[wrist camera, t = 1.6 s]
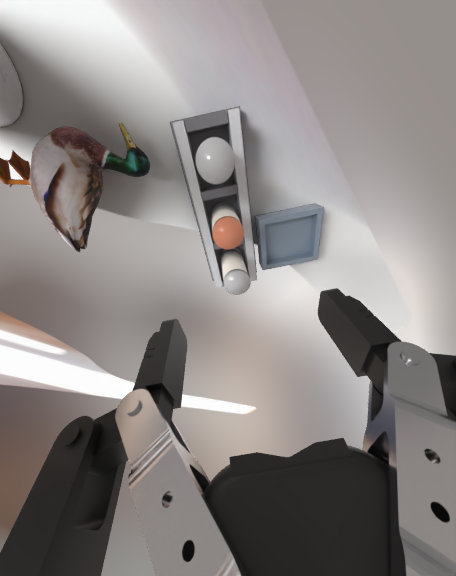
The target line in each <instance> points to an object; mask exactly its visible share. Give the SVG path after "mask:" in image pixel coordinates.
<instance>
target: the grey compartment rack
mask: <svg viewBox="0 0 456 576" xmlns="http://www.w3.org/2000/svg"><path fill="white" fill-rule="evenodd" d="M170 124H171V128H172V132H173V135H174V139H175V143H176V146H177V150H178V154H179V158H180V161H181V165H182V169H183V172H184V176H185V180H186V183H187V187H188V191H189V195H190V198H191V202H192V206H193V209H194V213H195V217H196V220H197V224H198V228H199V232H200V235H201V239H202V243H203V246H204V250H205V254H206V257H207V261H208V265H209V268H210V272H211V276H212V279H213V281H214V282H215V286H216V288H219V287H223V286H224V280H223V272H222V264H221V256H220V255H221V251H222V250H223V248H220V247H219V246H218V245H217V244H216V243H215V242H214V239H213V232H212V217H211V212H212V209H213V207H214V206H215V205H216V204H217V203H219V202H228V203H229V204H231V205H232V206H233V208H234V210H235V212H236V214H237V216H238V218H239V220H240V222H241V225H242V227H243V229H244V238H243V240H242V242H241V243H240V245H238V246H237V248H238V249H239V250H240V252H241V255H242V258H243V261H244V264H245V266H246V269H247V272H248V275H249V278H250V281H254V280H257V276H256V272H257V271H256V261H255V251H254V241H253V231H252V221H251V212H250V202H249V192H248V182H247V172H246V162H245V153H244V143H243V133H242V123H241V113H240V106H239V107H234V108H230V109H226V110H221V111H217V112H212V113H208V114H203V115H199V116H195V117H190V118H186V119H181V120H177V121H172V122H170ZM211 137H218V138H221V139H223V140H225V141H226V142H227V143H228V144H229V145H230V147H231V148H232V151H233V153H234V158H235V165H234V170H233V172H232V174H231V176H230V177H229V178H228V179H227V180H226V181H225V182H223V183H220V184H212V183H209V182H207V181H205V180H204V179H203V178H202V177H201V175H200V174H199V172H198V170H197V166H196V153H197V150H198V148H199V146H200V145H201V143H202V142H203V141H205V140H206V139H208V138H211ZM222 283H223V284H222Z"/></svg>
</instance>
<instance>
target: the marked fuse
mask: <svg viewBox="0 0 456 576" xmlns="http://www.w3.org/2000/svg"><path fill="white" fill-rule="evenodd" d="M211 217H212V232H213V239H214V242H215V243H216V244H217V245H218V246H219V247H220V248H223V249H233V248H235V247H237V246H238V245H240V243H241V242H242V240H243V238H244V229H243V227H242V225H241V222H240V220H239V218H238V216H237V214H236V212H235V210H234V208H233V206H232V205H231V204H229V203H228V202H219V203H217V204H216V205H215V206H214V207H213V209H212V212H211Z"/></svg>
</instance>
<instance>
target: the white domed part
mask: <svg viewBox="0 0 456 576" xmlns="http://www.w3.org/2000/svg"><path fill="white" fill-rule="evenodd" d="M234 165H235V158H234V153H233V151H232V148H231V147H230V145H229V144H228V143H227V142H226V141H225V140H223V139H221V138H218V137H211V138H208V139H206V140H205V141H203V142H202V143H201V145H200V146H199V148H198V150H197V153H196V166H197V170H198V172H199V174H200V175H201V177H202V178H203V179H204V180H205V181H207V182H209V183H212V184H220V183H223V182H225V181H226V180H227V179H228V178H229V177H230V176H231V174H232V172H233V170H234Z"/></svg>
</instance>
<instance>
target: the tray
mask: <svg viewBox="0 0 456 576" xmlns="http://www.w3.org/2000/svg"><path fill="white" fill-rule="evenodd" d="M323 208H324V207H322V206H320V205H317V204H311V205H306V206H301V207H297V208H292V209H287V210H282V211H277V212H273V213H268V214H263V215H258V216H255V218H256V229H257V240H258V252H259V263H260V265H261V267H262V270H265V269H271V268H276V267H281V266H286V265H291V264H296V263H301V262H306V261H311V260H317V259H318V251H319V242H320V234H321V225H322V216H323Z"/></svg>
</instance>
